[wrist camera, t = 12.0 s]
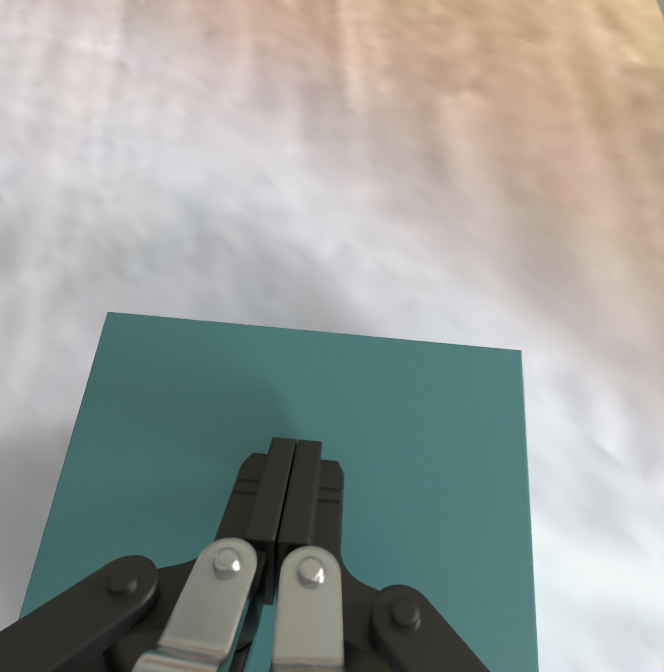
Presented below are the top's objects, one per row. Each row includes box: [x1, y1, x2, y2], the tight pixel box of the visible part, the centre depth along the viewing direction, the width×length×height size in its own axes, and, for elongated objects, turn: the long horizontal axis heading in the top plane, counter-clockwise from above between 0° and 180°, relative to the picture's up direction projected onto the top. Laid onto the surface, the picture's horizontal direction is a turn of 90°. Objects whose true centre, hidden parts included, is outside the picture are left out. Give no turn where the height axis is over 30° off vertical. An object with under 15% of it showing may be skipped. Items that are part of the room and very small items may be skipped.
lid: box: [19, 312, 539, 672], centre depth 13 cm, size 17×15×1 cm
